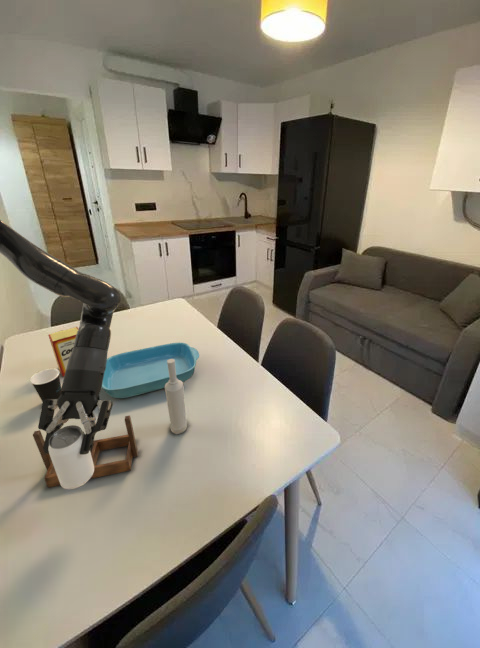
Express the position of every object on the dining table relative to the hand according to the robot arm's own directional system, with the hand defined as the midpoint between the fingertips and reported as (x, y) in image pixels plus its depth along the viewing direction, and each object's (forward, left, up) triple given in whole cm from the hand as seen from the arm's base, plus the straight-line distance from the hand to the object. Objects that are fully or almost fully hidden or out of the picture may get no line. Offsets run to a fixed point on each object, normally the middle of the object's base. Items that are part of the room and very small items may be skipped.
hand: (66, 453), depth 59 cm
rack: (-2, +13, -20) cm, 24 cm away
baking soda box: (-20, +60, -20) cm, 67 cm away
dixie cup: (-21, +41, -20) cm, 50 cm away
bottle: (+20, +20, -20) cm, 35 cm away
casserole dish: (+10, +47, -20) cm, 52 cm away
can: (0, +1, -9) cm, 9 cm away
